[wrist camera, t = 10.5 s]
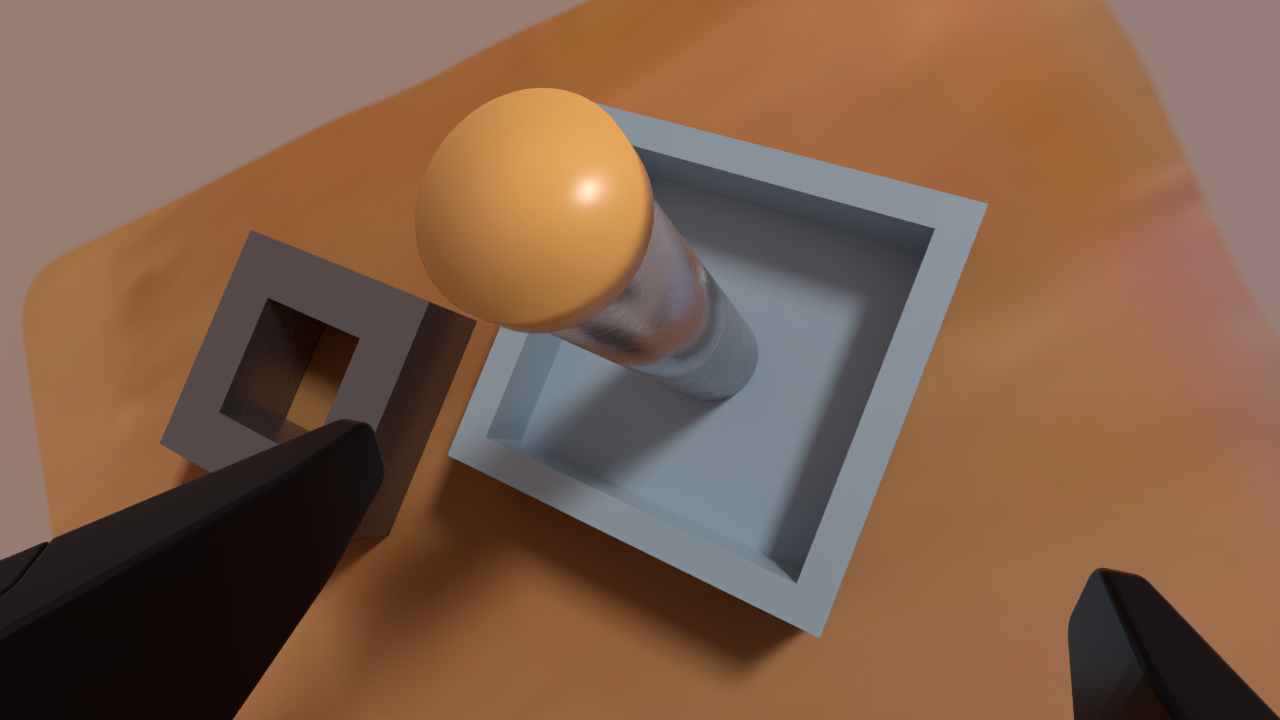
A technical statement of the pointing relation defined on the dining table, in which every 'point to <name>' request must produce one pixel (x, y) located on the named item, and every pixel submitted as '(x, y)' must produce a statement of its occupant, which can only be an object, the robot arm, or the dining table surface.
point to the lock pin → (575, 244)
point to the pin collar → (281, 349)
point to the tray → (775, 395)
